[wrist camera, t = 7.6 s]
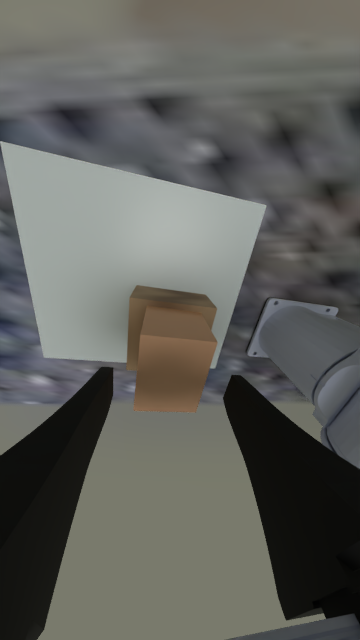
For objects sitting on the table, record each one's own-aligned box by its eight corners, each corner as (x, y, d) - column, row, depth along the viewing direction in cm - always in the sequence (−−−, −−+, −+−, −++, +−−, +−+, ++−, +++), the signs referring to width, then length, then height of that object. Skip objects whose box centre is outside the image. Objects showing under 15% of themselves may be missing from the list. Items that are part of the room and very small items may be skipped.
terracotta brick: (201, 312, 14) (217, 342, 10) (187, 369, 16) (195, 412, 12) (146, 305, 13) (140, 334, 9) (140, 366, 15) (133, 410, 11)
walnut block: (205, 294, 17) (217, 308, 14) (192, 350, 20) (199, 374, 17) (136, 285, 16) (129, 297, 13) (133, 345, 19) (126, 369, 15)
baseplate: (261, 207, 15) (266, 205, 14) (213, 364, 22) (215, 368, 22) (9, 147, 12) (0, 141, 11) (48, 353, 19) (44, 357, 19)
